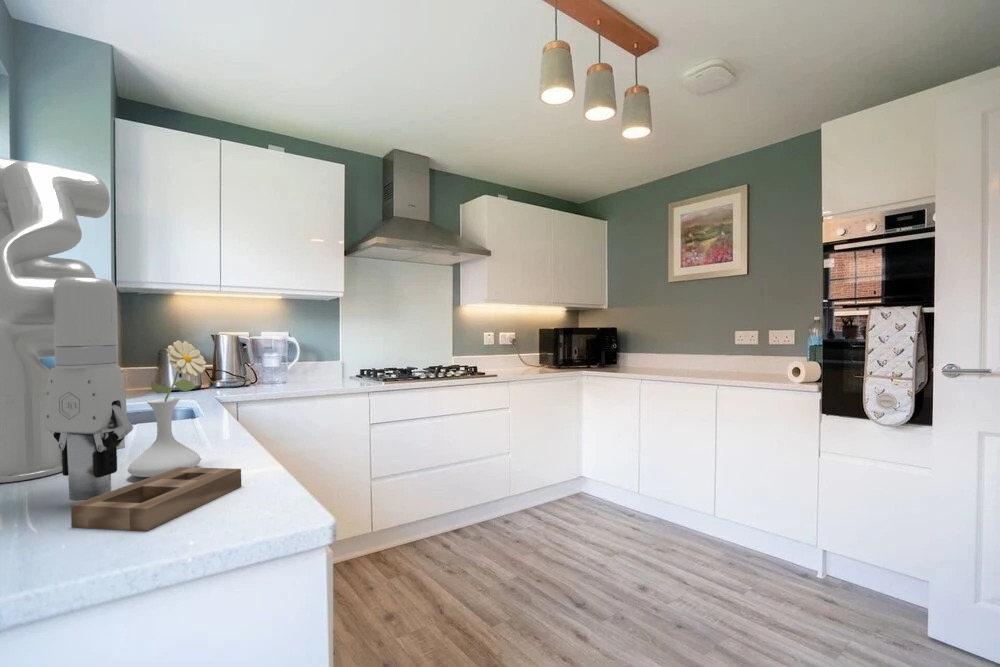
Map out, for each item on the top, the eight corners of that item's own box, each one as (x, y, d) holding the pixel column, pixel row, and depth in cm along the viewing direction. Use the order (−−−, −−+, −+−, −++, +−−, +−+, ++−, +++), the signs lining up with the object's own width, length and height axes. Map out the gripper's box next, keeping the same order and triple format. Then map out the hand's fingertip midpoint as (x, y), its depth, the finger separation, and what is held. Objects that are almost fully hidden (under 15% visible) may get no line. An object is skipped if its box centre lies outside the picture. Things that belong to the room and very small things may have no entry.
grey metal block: (60, 499, 73) (57, 434, 72) (92, 488, 78) (90, 426, 77) (88, 501, 72) (85, 435, 72) (119, 489, 77) (117, 427, 77)
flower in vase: (145, 486, 83) (140, 341, 82) (116, 477, 88) (111, 342, 88) (222, 467, 94) (218, 339, 93) (191, 459, 100) (188, 339, 99)
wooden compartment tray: (71, 527, 66) (70, 505, 66) (179, 484, 83) (179, 467, 83) (147, 531, 64) (146, 508, 64) (241, 486, 81) (241, 468, 81)
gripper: (14, 359, 72) (17, 479, 72) (110, 360, 69) (113, 484, 70) (66, 355, 79) (69, 464, 80) (156, 356, 77) (158, 469, 77)
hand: (90, 472), depth 75 cm, fingers closed on grey metal block, 5 cm apart
